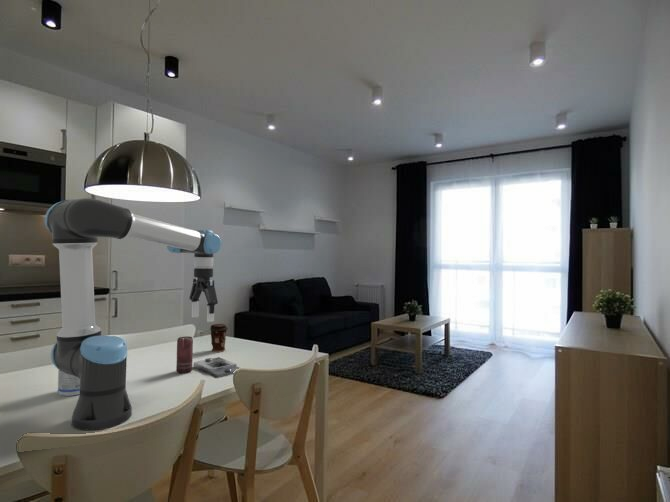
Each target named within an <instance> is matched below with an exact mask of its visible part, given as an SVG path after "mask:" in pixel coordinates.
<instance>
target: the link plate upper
mask: <svg viewBox="0 0 670 502" xmlns="http://www.w3.org/2000/svg"><path fill="white" fill-rule="evenodd" d="M220 363H222V364H225V365H227V366H217V367H211V365H216V364H220ZM236 366H237V363H234V362H233V361H230V360H227V359H224V358H222V357H220V356H219V357H213V358H211V357H210V358H209V357H208V358H205V359H203V360H198V361H194V362H193V368H195V369H198V370H200V368H203V369H205V370H207V371H210V372H213V371H217V370H222V369H226V368H231V367H236Z"/></svg>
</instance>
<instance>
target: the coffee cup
mask: <svg viewBox="0 0 670 502" xmlns="http://www.w3.org/2000/svg"><path fill="white" fill-rule="evenodd" d="M209 329H210V341H211V346H212V349H211V351H212V352H213V353H222V352H225V351H226V339H227V337H226V336H227V331H228V327H227V324H225V323H214V324H211V325H210V328H209Z"/></svg>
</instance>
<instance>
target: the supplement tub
mask: <svg viewBox="0 0 670 502" xmlns="http://www.w3.org/2000/svg"><path fill="white" fill-rule="evenodd" d="M57 371H58V372H57V373H58V375H57V376H58V377H57V380H58V381H57V394H58V395H59V396H64V397H72V396H80V378H79V377H76V376H73V375H70V374H66V373H64V372H62V371H60V370H59V369H58V368H57Z"/></svg>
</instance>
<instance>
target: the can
mask: <svg viewBox="0 0 670 502" xmlns="http://www.w3.org/2000/svg"><path fill="white" fill-rule="evenodd" d="M193 348H194V338H193V337H192V336H179V337H178V338H177V340H176V370H175V371H176V373H177V374H181V375H182V374H189V373H191V372H192V371H193V359H194V358H193V354H194V349H193Z"/></svg>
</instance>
